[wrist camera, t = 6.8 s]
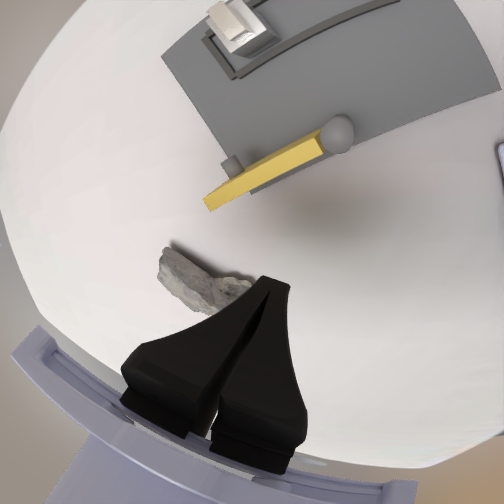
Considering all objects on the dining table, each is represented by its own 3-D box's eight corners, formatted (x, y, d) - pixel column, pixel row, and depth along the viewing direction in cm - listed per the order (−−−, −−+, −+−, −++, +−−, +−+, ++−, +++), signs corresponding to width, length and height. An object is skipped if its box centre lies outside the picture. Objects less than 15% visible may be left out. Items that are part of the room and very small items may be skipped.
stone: (256, 329, 28) (240, 359, 25) (160, 280, 30) (138, 302, 27) (273, 289, 24) (257, 322, 21) (160, 235, 26) (134, 258, 23)
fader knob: (281, 39, 13) (259, 24, 9) (250, 58, 14) (220, 50, 11) (256, 10, 12) (229, -10, 9) (227, 29, 13) (194, 17, 10)
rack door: (331, 137, 15) (323, 153, 11) (244, 182, 18) (210, 211, 14) (315, 110, 14) (300, 115, 10) (230, 158, 18) (191, 181, 14)
